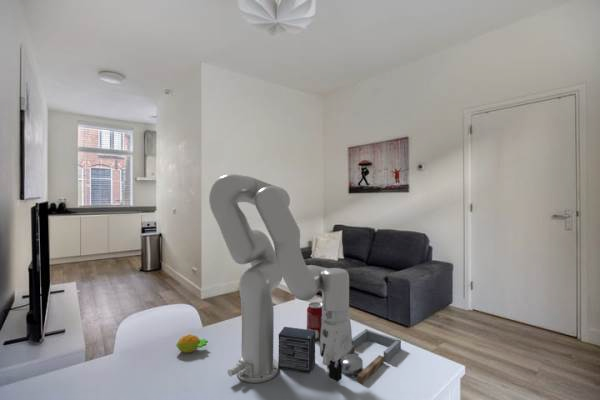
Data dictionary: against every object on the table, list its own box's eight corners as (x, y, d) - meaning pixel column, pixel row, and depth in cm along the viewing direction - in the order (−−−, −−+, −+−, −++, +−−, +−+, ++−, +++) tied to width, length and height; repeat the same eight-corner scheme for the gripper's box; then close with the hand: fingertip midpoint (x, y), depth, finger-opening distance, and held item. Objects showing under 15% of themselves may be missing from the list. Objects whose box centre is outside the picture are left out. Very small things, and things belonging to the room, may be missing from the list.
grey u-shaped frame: (387, 362, 95) (387, 353, 95) (350, 348, 104) (350, 339, 104) (400, 348, 104) (400, 340, 104) (365, 336, 112) (365, 328, 112)
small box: (315, 362, 95) (316, 329, 95) (311, 374, 89) (311, 339, 88) (284, 357, 98) (284, 325, 98) (277, 368, 91) (277, 334, 91)
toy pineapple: (179, 346, 104) (180, 331, 104) (209, 345, 105) (209, 330, 105) (173, 357, 97) (173, 340, 97) (204, 356, 98) (205, 339, 98)
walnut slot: (362, 384, 84) (362, 377, 84) (327, 367, 92) (327, 361, 92) (383, 363, 95) (383, 356, 95) (350, 350, 102) (350, 344, 102)
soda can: (318, 342, 107) (318, 309, 107) (303, 337, 111) (303, 305, 111) (328, 335, 113) (328, 304, 113) (313, 330, 117) (313, 300, 117)
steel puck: (356, 380, 86) (356, 370, 86) (335, 371, 90) (335, 362, 90) (366, 368, 92) (366, 358, 92) (345, 360, 96) (345, 351, 96)
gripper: (331, 326, 76) (331, 398, 76) (360, 309, 87) (360, 371, 87) (308, 318, 80) (308, 385, 81) (338, 303, 92) (338, 362, 92)
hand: (335, 378), depth 84 cm, fingers closed
